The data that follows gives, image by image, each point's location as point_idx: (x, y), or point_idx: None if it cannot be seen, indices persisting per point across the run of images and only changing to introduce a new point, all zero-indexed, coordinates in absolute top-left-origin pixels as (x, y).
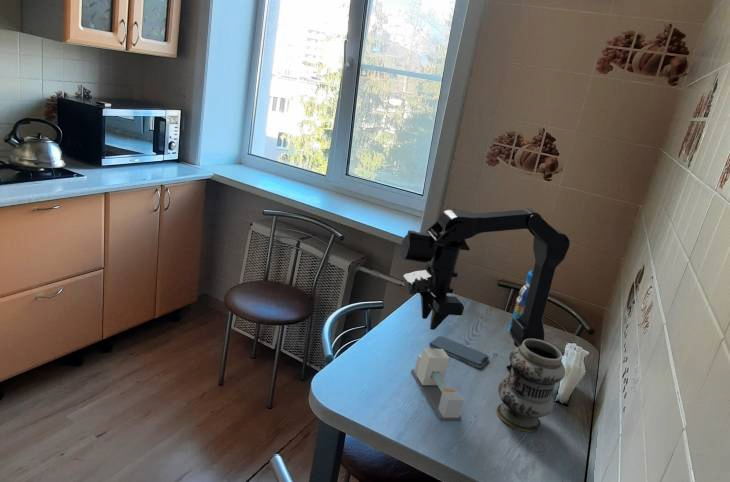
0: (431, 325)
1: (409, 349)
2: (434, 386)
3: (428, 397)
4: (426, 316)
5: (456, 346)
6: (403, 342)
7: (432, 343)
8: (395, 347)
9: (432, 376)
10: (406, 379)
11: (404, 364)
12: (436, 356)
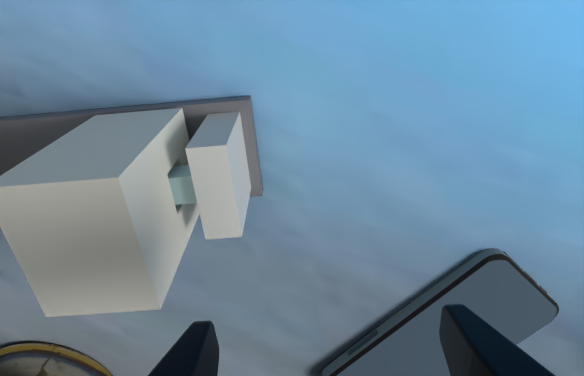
0: (162, 361)
1: (467, 143)
2: None
3: (14, 120)
4: (449, 355)
5: None
6: (539, 128)
7: (497, 265)
8: (493, 67)
9: None
10: (177, 51)
11: (321, 77)
12: (25, 242)
